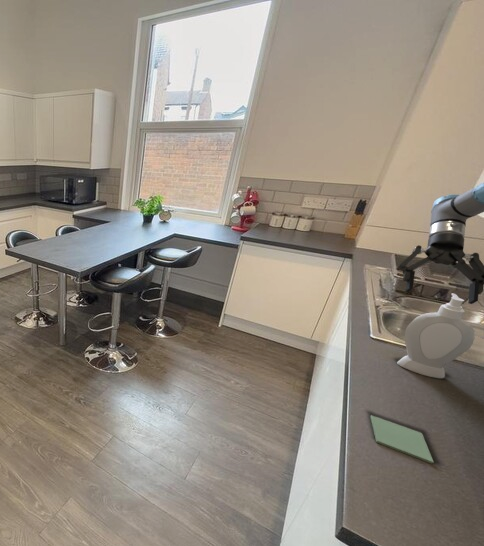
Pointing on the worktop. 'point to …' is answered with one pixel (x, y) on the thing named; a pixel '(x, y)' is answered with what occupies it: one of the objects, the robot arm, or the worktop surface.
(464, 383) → the worktop surface
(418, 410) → the worktop surface
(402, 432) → the mat
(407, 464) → the worktop surface
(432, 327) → the soap bottle
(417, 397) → the worktop surface
